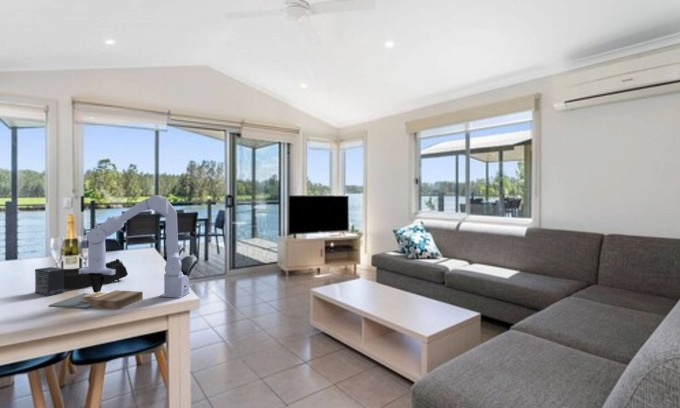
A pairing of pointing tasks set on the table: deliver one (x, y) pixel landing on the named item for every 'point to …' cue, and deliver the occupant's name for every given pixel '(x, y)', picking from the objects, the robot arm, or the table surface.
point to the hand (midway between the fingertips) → (97, 291)
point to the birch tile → (92, 296)
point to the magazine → (80, 280)
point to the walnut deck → (116, 299)
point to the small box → (49, 281)
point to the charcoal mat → (73, 302)
